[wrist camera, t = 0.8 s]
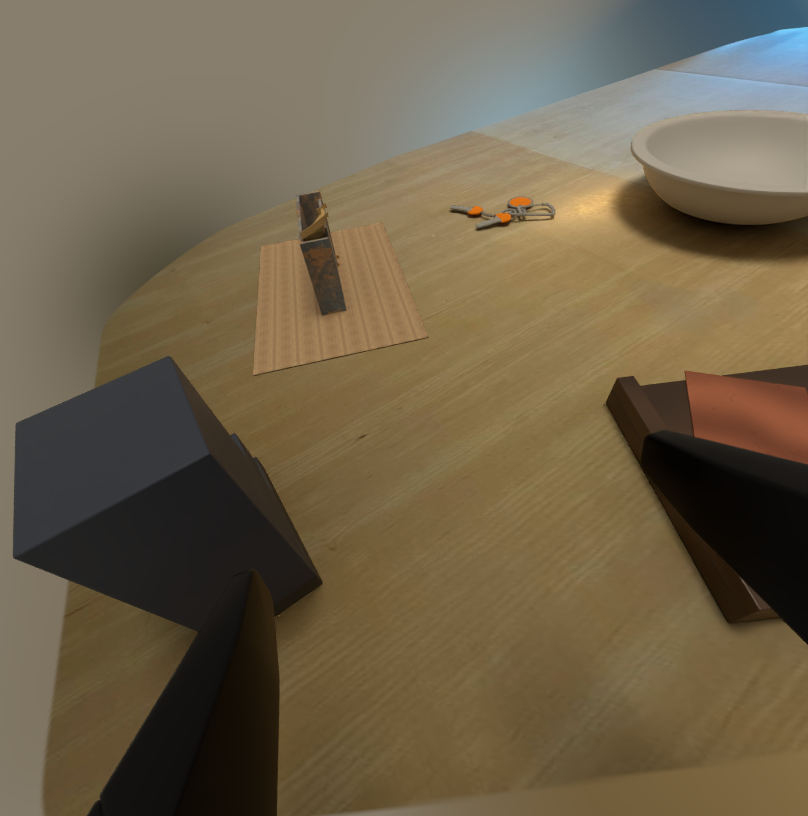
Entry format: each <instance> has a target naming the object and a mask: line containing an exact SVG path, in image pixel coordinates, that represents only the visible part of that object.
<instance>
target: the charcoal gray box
mask: <svg viewBox="0 0 808 816" xmlns="http://www.w3.org/2000/svg"><path fill="white" fill-rule="evenodd" d="M15 434H16V435H15V478H14V524H13V526H14V528H13V557H14V559H17V560H19V561H22V562H24V563H27V564H29V565H32V566H34V567H37V568H39V569H42V570H44V571H47V572H49V573H52V574H55V575H57V576H59V577H62V578H65V579H67V580H69V581H72V582H75V583H77V584H80V585H82V586H85V587H87V588H90V589H92V590H95V591H97V592H100V593H102V594H105V595H107V596H110V597H112V598H115V599H117V600H120V601H122V602H125V603H128V604H130V605H133V606H135V607H138V608H140V609H143V610H145V611H148V612H150V613H153V614H155V615H158V616H160V617H163V618H165V619H168V620H170V621H173V622H175V623H178V624H180V625H183V626H186V627H188V628H191V629H193V630H196V631H198V632H199V631H200V630H201V628H202V626H203V625H204V623H205V621H206V620H207V618H208V616H209V615H210V613H211V611H212V610H213V608H214V607H215V605H216V603H217V602H218V600H219V598H220V597H221V595H222V593H223V592H224V590H225V589H226V587H227V585H228V584H229V582H230V580H231V579H232V578H233V577H234V576H235V575H236V574H239V573H242V572H245V571H248V570H251V569H255V570H256V571H257V572H258V573H259V575H260V576H261V578H262V580H263V581H264V583H265V584H266V586H267V588H268V589H269V591H270V593H271V596H272V600H273V607H274V616H276V615H277V614H279V613H280V612H282V611H283V610H284V609H286V608H287V607H289V606H290V605H292V604H293V603H294V602H296V601H297V600H299V599H300V598H302V597H303V596H304V595H306V594H307V593H309V592H310V591H312V590H313V589H315V588H316V587H317V586H319V585H320V584H322V580H321V578H320V576H319V574H318V572H317V570H316V568H315V566H314V565H313V563H312V561H311V559H310V557H309V555H308V553H307V551H306V549H305V547H304V545H303V543H302V541H301V539H300V537H299V535H298V533H297V531H296V529H295V527H294V526H293V524H292V522H291V520H290V518H289V516H288V514H287V512H286V510H285V508H284V506H283V504H282V502H281V500H280V498H279V496H278V494H277V492H276V490H275V488H274V487H273V485H272V483H271V481H270V479H269V477H268V475H267V473H266V471H265V469H264V467H263V466H262V464H261V463H260V462H259V460H258V459H257V457H254V458H253V457H252V455H251V454H250V453H249V451H248V450H247V449H246V447H245V446H244V444H243V443H242V442H241V440H240V439H239V438H238V436H237V435H236V434H235V433H234V434H232V435H229V433H228V432H227V431H226V429H225V428H224V427H223V426H222V424H221V423H220V422H219V420H218V419H217V418H216V416H215V415H214V414H213V412H212V411H211V410H210V408H209V407H208V406H207V404H206V403H205V402H204V400H203V399H202V398H201V396H200V395H199V394H198V392H197V391H196V390H195V388H194V387H193V386H192V384H191V383H190V382H189V380H188V379H187V378H186V376H185V375H184V374H183V372H182V371H181V370H180V368H179V367H178V366H177V364H176V363H175V362H174V360H173V359H172V358H171V357H170V356H167V357H165V358H163V359H160V360H158V361H156V362H154V363H151V364H149V365H147V366H145V367H142V368H140V369H138V370H135V371H133V372H131V373H129V374H126V375H124V376H122V377H120V378H117V379H115V380H113V381H110V382H108V383H106V384H104V385H101V386H99V387H97V388H95V389H92V390H90V391H88V392H86V393H84V394H81V395H79V396H76V397H74V398H72V399H70V400H68V401H65V402H63V403H61V404H58V405H56V406H54V407H51V408H49V409H47V410H45V411H43V412H40V413H38V414H36V415H33V416H31V417H29V418H27V419H24V420H22V421H20V422H18V423H16V431H15Z"/></svg>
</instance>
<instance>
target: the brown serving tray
mask: <svg viewBox="0 0 808 816" xmlns="http://www.w3.org/2000/svg"><path fill="white" fill-rule="evenodd" d="M685 379H686V380H683V381H675V382H667V383H659V384H651V385H644V386H640V385H639V384H638V382H637V381H636V379H635V378H634V376H629V377H621V378H617V379H616V381H615V384H614V386H613V388H612V390H611V392H610V394H609V397H608V399H607V401H606V404H607V405H608V407H609V409H610V411H611V413H612V414H613V416H614V418H615V420H616V422H617V423H618V425H619V427H620V429H621V431H622V432H623V434H624V436H625V438H626V440H627V441H628V443H629V445H630V447H631V449H632V450H633V452H634V454H635V456H636V458H637V459H638V461H639V463H640V457H641V450H642V444H643V439H644V437H645V435H647V434H649V433H652V432H655V431H657V430H662V429H665V430H670V431H674V432H678V433H682V434H686V435H690V436H694V437H698V438H702V439H706V440H711V441H715V442H719V443H723V444H727V445H731V446H735V447H739V448H743V449H747V450H751V451H755V452H760V453H764V454H768V455H772V456H776V457H780V458H784V459H788V460H792V461H796V462H800V463H804V464H808V365H802V366H794V367H786V368H778V369H771V370H763V371H755V372H747V373H739V374H731V375H723V376H719V375H712V374H705V373H698V372H691V371H685ZM648 479H649V478H648ZM649 481H650V483H651V484H652V486H653V488H654V490H655V492H656V493H657V495H658V497H659V499H660V501H661V502H662V504H663V506H664V508H665V510H666V511H667V513H668V515H669V517H670V519H671V520H672V522H673V524H674V526H675V528H676V529H677V531H678V533H679V535H680V537H681V538H682V540H683V542H684V544H685V546H686V547H687V549H688V551H689V553H690V555H691V556H692V558H693V560H694V562H695V564H696V565H697V567H698V569H699V571H700V573H701V574H702V576H703V578H704V580H705V582H706V583H707V585H708V587H709V589H710V591H711V592H712V594H713V596H714V598H715V599H716V601H717V603H718V605H719V607H720V608H721V610H722V612H723V614H724V616H725V617H726V619H727V621H728V622H729V623H735V622H744V621H753V620H761V619H770V618H779V616H778V615H777V614H776V613H775V612H774V611H773V610H772V609H771V608H770V607H769V606H768V605H767V604H766V603H765V602H764V601H763V600H762V599H761V598H760V597H759V596H758V595H757V594H756V593H755V592H754V591H753V590H752V589H751V588H750V587H749V586H748V585H747V584H746V583H745V582H744V581H743V580H742V579H741V578H740V577H739V576H738V575H737V574H736V573H735V572H734V571H733V570H732V569H731V568H730V567H729V566H728V565H727V564H726V563H725V562H724V561H723V560H722V559H721V558H720V557H719V556H718V555H717V554H716V553H715V552H714V551H713V550H712V549H711V548H710V547H709V546H708V545H707V544H706V543H705V542H704V541H703V540H702V539H701V538H700V537H699V536H698V535H697V534H696V533H695V532H694V531H693V529H692V528H691V527H690V526H689V525H688V524H687V523H686V522H685V521H684V520H683V518H682V517H681V516H680V515H679V514H678V513H677V511H676V510H675V509H674V508H673V507H672V505H671V504H670V503H669V502H668V501H667V499H666V498H665V497H664V496H663V495H662V493H661V492H660V491H659V490H658V489H657V487H656V486H655V485H654V484H653V483H652V481H651V480H650V479H649Z"/></svg>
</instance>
